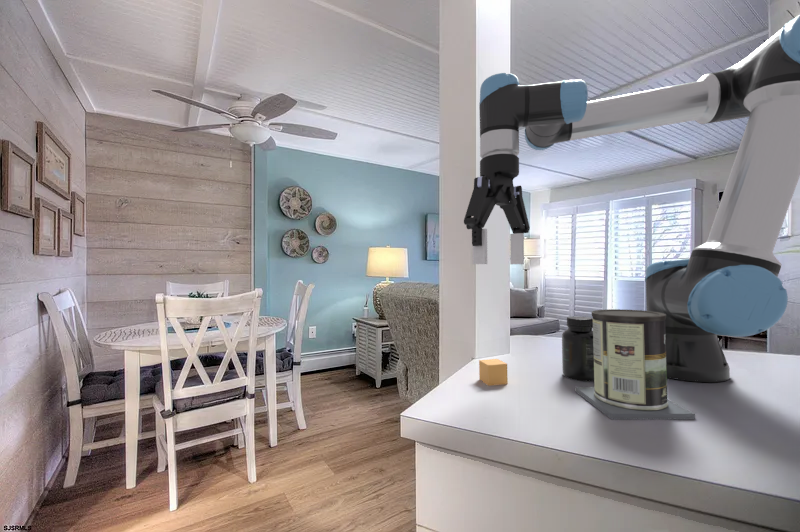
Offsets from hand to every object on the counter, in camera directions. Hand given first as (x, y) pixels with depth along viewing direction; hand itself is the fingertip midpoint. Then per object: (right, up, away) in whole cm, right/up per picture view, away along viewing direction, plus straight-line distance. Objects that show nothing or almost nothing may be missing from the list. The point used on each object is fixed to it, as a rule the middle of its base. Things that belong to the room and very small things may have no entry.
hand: (499, 264), depth 72 cm
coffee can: (+17, -22, -13) cm, 31 cm away
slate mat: (+17, -23, -13) cm, 32 cm away
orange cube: (-1, -23, 0) cm, 23 cm away
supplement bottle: (+17, -23, +2) cm, 29 cm away
